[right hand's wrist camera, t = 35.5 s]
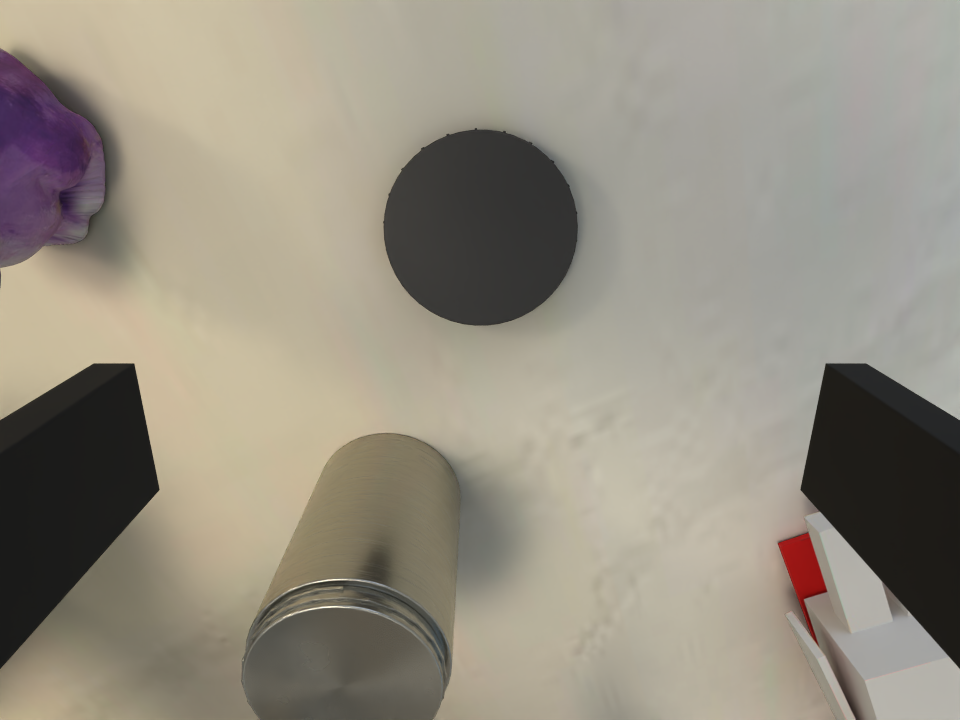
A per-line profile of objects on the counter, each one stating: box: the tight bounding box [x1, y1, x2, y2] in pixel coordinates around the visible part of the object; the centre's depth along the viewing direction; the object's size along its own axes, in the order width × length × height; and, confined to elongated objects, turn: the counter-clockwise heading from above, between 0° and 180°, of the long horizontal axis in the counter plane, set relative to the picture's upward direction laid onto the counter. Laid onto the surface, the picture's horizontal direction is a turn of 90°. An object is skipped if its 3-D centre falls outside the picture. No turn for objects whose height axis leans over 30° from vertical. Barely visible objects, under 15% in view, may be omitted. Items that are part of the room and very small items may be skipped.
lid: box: [383, 128, 578, 325], centre depth 37 cm, size 11×11×2 cm
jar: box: [241, 434, 461, 720], centre depth 37 cm, size 10×10×16 cm
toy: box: [778, 511, 960, 720], centre depth 43 cm, size 12×13×30 cm
